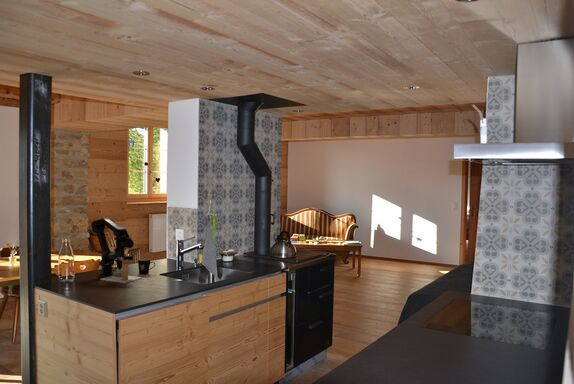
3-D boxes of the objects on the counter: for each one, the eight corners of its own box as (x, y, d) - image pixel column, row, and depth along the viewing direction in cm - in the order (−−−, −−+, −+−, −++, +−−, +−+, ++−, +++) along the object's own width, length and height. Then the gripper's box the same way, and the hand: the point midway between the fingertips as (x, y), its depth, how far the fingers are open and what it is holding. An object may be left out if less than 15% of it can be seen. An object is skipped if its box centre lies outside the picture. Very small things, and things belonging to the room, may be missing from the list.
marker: (120, 280, 302) (120, 260, 302) (123, 279, 306) (124, 259, 305) (126, 280, 301) (126, 260, 301) (129, 279, 305) (129, 259, 305)
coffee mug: (134, 274, 328) (135, 259, 327) (143, 272, 335) (144, 258, 335) (147, 275, 322) (147, 261, 322) (156, 273, 330) (156, 259, 330)
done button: (114, 275, 315) (115, 269, 315) (119, 274, 319) (119, 268, 319) (120, 276, 314) (120, 270, 314) (124, 275, 318) (124, 269, 318)
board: (100, 279, 306) (100, 275, 306) (118, 275, 321) (118, 271, 321) (124, 283, 298) (124, 278, 298) (142, 278, 314) (142, 273, 314)
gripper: (100, 247, 312) (100, 270, 313) (122, 249, 305) (122, 273, 305) (112, 245, 323) (112, 267, 323) (134, 247, 315) (133, 270, 316)
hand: (119, 269), depth 316 cm, fingers closed, pressing on done button
